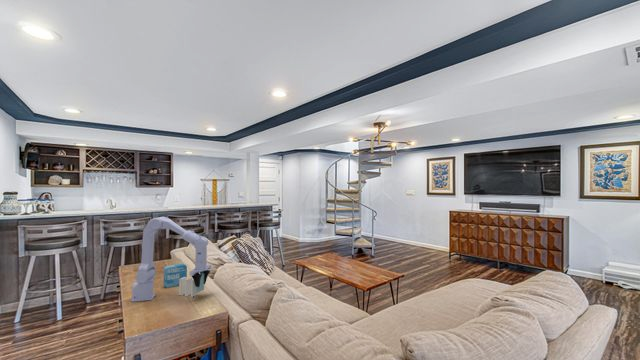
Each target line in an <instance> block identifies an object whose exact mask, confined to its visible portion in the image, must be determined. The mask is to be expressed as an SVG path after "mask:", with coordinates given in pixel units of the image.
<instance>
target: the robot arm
mask: <svg viewBox="0 0 640 360" xmlns="http://www.w3.org/2000/svg"><path fill="white" fill-rule="evenodd" d="M160 230H171V231H172V232H175V233H176V234H178V235H181V236H182V239H183V241H186V242H188V243H189V244H190V245H192V246H194V249H195V259H194V260H195V262H194V263H195V264H194V266H195V267H194V269H192V270H191V271H189V276H191V278H192V280H194V282H195V286H196V287H199V286H200V279H201V276H202V274H201V273H204V285H206V283H207V279H208V276H209V274H210V272H211V269H212V265H211V264H207V258H208V257H207V256H208V255H207V254H208V251H207V250H208V249H207V248H208V247H207V246H208V245H209V241H208V240H209V239H207V238H206V237H205V236H202V235H199V234H198V233H195V230H186V229H185V228H183V227H181V226H180V225H179V224H178V223H176V222H174V221H173V220H172V219H171V218H168V217H167V216H160V217H153V218H151V219H150V220H149V221H147V225H146V226H145V227H144V229H143V232H142V244H141V262H140V265H139V267H138V269H137V273H136V274H135V280H136V282H133V285H132V289H131V302H133V303H134V302H143V301H144V302H145V301H152V300H154V298H155V296H156V294H155V293H154V287H155V286H154V284H155V283H154V279H155V277H156V275H157V270H156V265H155V263H154V251H155V250H154V249H155V247H154V246H155V234H156V233H158V232H159V231H160Z"/></svg>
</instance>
